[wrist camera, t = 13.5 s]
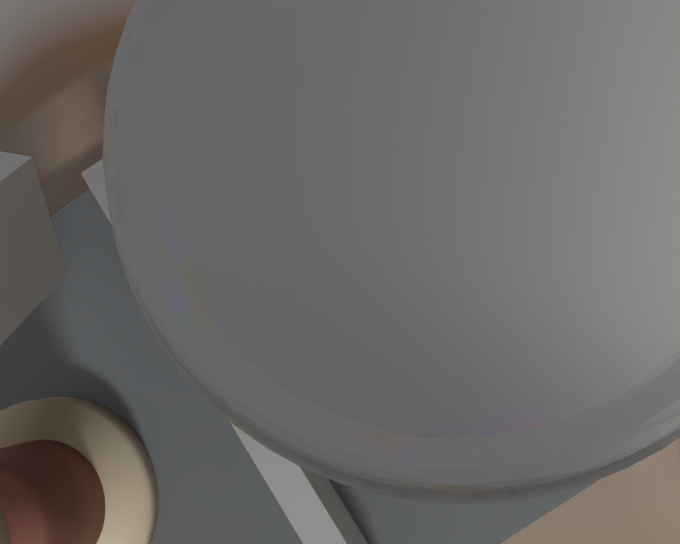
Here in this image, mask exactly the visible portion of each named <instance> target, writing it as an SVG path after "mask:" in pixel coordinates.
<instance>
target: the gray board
mask: <svg viewBox="0 0 680 544" xmlns="http://www.w3.org/2000/svg"><path fill="white" fill-rule="evenodd" d="M102 159H103V158H102ZM102 159H101V160H99V161H98V162H96V163H95V164H94V165H92V166H91V167H89V168H88V169H86V170H85V171H84V172H82V173H81V175H82V177H83V178H84V180H85V182H86V183H87V185H88V187H89V188H90V189H88V190H87V191H86V192H84V193H83V194H81V195H80V196H78V197H77V198H76V199H74V200H73V201H71V202H70V203H68V204H67V205H66V206H64V207H63V208H61V209H60V210H58V211H57V212H56V213H54V214H53V215H51V216H50V218H51V222H52V225H53V229H54V232H55V236H56V239H57V243H58V246H59V250H60V253H61V257H62V260H63V263H64V267H65V270H66V274H67V275H66V276H65V277H64V278H63V279H62V280H61V281H60V282H59V283H58V284H57V285H56V286H55V287H54V288H53V290H52V291H51V292H50V293H49V294H48V295H47V296H46V297H45V298H44V299H43V300H42V301H41V302H40V303H39V305H38V306H37V307H36V308H35V309H34V310H33V311H32V312H31V313H30V314H29V315H28V316H27V317H26V318H25V320H24V321H23V322H22V323H21V324H20V325H19V326H18V327H17V328H16V329H15V330H14V331H13V332H12V333H11V335H10V336H9V337H8V338H7V339H6V340H5V341H4V342H3V343H2V344H1V345H0V411H2V410H4V409H6V408H8V407H10V406H12V405H15V404H18V403H22V402H25V401H30V400H37V399H44V398H51V397H68V396H70V397H78V398H84V399H87V400H91V401H94V402H97V403H99V404H101V405H103V406H106V407H107V408H109V409H110V410H112V411H114V412H115V413H117V414H118V415H119V416H120V417H122V418H123V419H124V420H125V421H126V422H127V423H128V424H129V425H130V426H131V427H132V428H133V429H134V430H135V432H136V433H137V435H138V436H139V437H140V439H141V440H142V442H143V444H144V445H145V447H146V449H147V451H148V453H149V455H150V458H151V461H152V463H153V466H154V470H155V474H156V479H157V485H158V494H159V495H158V515H157V522H156V526H155V530H154V534H153V538H152V540H151V543H150V544H500V543H501V542H503V541H504V540H506V539H507V538H509V537H511V536H512V535H514V534H515V533H517V532H518V531H520V530H521V529H523V528H525V527H526V526H528V525H529V524H531V523H532V522H534V521H535V520H537V519H539V518H540V517H542V516H543V515H545V514H546V513H548V512H549V511H551V510H553V509H554V508H556V507H557V506H559V505H560V504H562V503H563V502H565V501H567V500H568V499H570V498H571V497H573V496H574V495H576V494H577V493H579V492H581V491H582V490H584V489H585V488H587V487H588V486H590V485H591V484H593V483H595V482H596V481H598V480H599V479H598V480H596V481H593V482H591V483H588V484H586V485H582V486H579V487H575V488H571V489H568V490H564V491H560V492H557V493H553V494H549V495H546V496H540V497H534V498H527V499H521V500H515V501H509V502H501V503H480V504H447V503H429V502H418V501H412V500H406V499H400V498H395V497H389V496H383V495H379V494H375V493H372V492H368V491H364V490H361V489H357V488H354V487H350V486H347V485H343V484H340V483H338V482H335V481H333V480H331V479H328V478H326V477H323V476H321V475H318V474H316V473H314V472H311V471H309V470H306V469H304V468H302V467H300V466H298V465H296V464H295V463H293V462H291V461H289V460H287V459H285V458H284V457H282V456H280V455H278V454H276V453H275V452H273V451H271V450H269V449H267V448H266V447H264V446H263V445H262V444H260V443H259V442H257V441H256V440H254V439H253V438H252V437H250V436H249V435H247V434H246V433H245V432H243V431H242V430H240V429H239V428H237V427H236V426H235V425H233V424H232V423H231V422H230V421H229V420H228V419H227V418H225V417H224V416H223V415H222V414H221V413H220V412H219V411H218V410H216V409H215V408H214V407H213V406H212V405H211V404H210V403H208V402H207V401H206V400H205V399H204V398H203V397H202V396H201V394H200V393H199V392H198V391H197V390H196V389H195V388H194V387H193V386H192V384H191V383H190V382H189V381H188V380H187V379H186V378H185V377H184V376H183V374H182V373H181V372H180V371H179V370H178V368H177V367H176V366H175V364H174V363H173V361H172V360H171V359H170V357H169V356H168V354H167V353H166V352H165V350H164V349H163V347H162V346H161V345H160V343H159V342H158V340H157V339H156V337H155V335H154V333H153V331H152V330H151V328H150V326H149V324H148V323H147V321H146V319H145V317H144V316H143V314H142V312H141V310H140V308H139V306H138V303H137V301H136V299H135V296H134V294H133V292H132V289H131V287H130V285H129V282H128V280H127V278H126V275H125V272H124V268H123V265H122V262H121V259H120V256H119V252H118V249H117V246H116V242H115V237H114V232H113V229H112V224H111V218H110V212H109V206H108V200H107V194H106V186H105V177H104V168H103V160H102Z"/></svg>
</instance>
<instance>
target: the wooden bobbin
mask: <svg viewBox="0 0 680 544" xmlns="http://www.w3.org/2000/svg"><path fill="white" fill-rule="evenodd" d="M158 495H159V494H158V485H157V479H156V474H155V470H154V466H153V463H152V461H151V458H150V455H149V453H148V451H147V449H146V447H145V445H144V444H143V442H142V440H141V439H140V437H139V436H138V435H137V433H136V432H135V430H134V429H133V428H132V427H131V426H130V425H129V424H128V423H127V422H126V421H125V420H124V419H123V418H122V417H120V416H119V415H118V414H117V413H115V412H114V411H112V410H110V409H109V408H107V407H106V406H103V405H101V404H99V403H97V402H94V401H91V400H87V399H84V398H78V397H70V396H68V397H51V398H44V399H37V400H30V401H25V402H22V403H18V404H15V405H12V406H10V407H8V408H6V409H4V410H2V411H0V544H150V543H151V540H152V538H153V534H154V530H155V526H156V522H157V515H158Z"/></svg>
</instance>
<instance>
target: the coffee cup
mask: <svg viewBox="0 0 680 544" xmlns="http://www.w3.org/2000/svg"><path fill="white" fill-rule="evenodd" d="M102 160H103V168H104V177H105V186H106V194H107V200H108V206H109V212H110V218H111V224H112V229H113V232H114V237H115V242H116V246H117V249H118V252H119V256H120V259H121V262H122V265H123V268H124V272H125V275H126V278H127V280H128V282H129V285H130V287H131V289H132V292H133V294H134V296H135V299H136V301H137V303H138V306H139V308H140V310H141V312H142V314H143V316H144V317H145V319H146V321H147V323H148V324H149V326H150V328H151V330H152V331H153V333H154V335H155V337H156V339H157V340H158V342H159V343H160V345H161V346H162V347H163V349H164V350H165V352H166V353H167V354H168V356H169V357H170V359H171V360H172V361H173V363H174V364H175V366H176V367H177V368H178V370H179V371H180V372H181V373H182V374H183V376H184V377H185V378H186V379H187V380H188V381H189V382H190V383H191V384H192V386H193V387H194V388H195V389H196V390H197V391H198V392H199V393H200V394H201V396H202V397H203V398H204V399H205V400H206V401H207V402H208V403H210V404H211V405H212V406H213V407H214V408H215V409H216V410H218V411H219V412H220V413H221V414H222V415H223V416H224V417H225V418H227V419H228V420H229V421H230V422H231V423H232V424H233V425H235V426H236V427H237V428H239V429H240V430H242V431H243V432H245V433H246V434H247V435H249V436H250V437H252V438H253V439H254V440H256V441H257V442H259V443H260V444H262V445H263V446H264V447H266V448H267V449H269V450H271V451H273V452H275V453H276V454H278V455H280V456H282V457H284V458H285V459H287V460H289V461H291V462H293V463H295V464H296V465H298V466H300V467H302V468H304V469H306V470H309V471H311V472H314V473H316V474H318V475H321V476H323V477H326V478H328V479H331V480H333V481H335V482H338V483H340V484H343V485H347V486H350V487H354V488H357V489H361V490H364V491H368V492H372V493H375V494H379V495H383V496H389V497H395V498H400V499H406V500H412V501H418V502H429V503H447V504H480V503H501V502H509V501H515V500H521V499H527V498H534V497H540V496H546V495H549V494H553V493H557V492H560V491H564V490H568V489H571V488H575V487H579V486H582V485H586V484H588V483H591V482H593V481H596V480H598V479H601V478H603V477H606V476H608V475H611V474H613V473H616V472H618V471H621V470H623V469H626V468H628V467H629V466H631V465H633V464H635V463H637V462H639V461H641V460H643V459H645V458H646V457H648V456H650V455H652V454H654V453H656V452H658V451H660V450H661V449H663V448H665V447H666V446H668V445H669V444H670V443H672V442H673V441H675V440H676V439H678V438H679V437H680V0H136V1H135V3H134V5H133V8H132V10H131V12H130V14H129V16H128V19H127V21H126V25H125V27H124V30H123V33H122V36H121V39H120V42H119V45H118V47H117V50H116V53H115V58H114V62H113V66H112V71H111V75H110V79H109V84H108V88H107V96H106V105H105V114H104V125H103V159H102Z"/></svg>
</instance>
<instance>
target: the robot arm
mask: <svg viewBox="0 0 680 544" xmlns="http://www.w3.org/2000/svg"><path fill="white" fill-rule="evenodd" d="M66 275H67V274H66V270H65V267H64V263H63V260H62V257H61V253H60V250H59V246H58V243H57V239H56V236H55V232H54V229H53V225H52V222H51V218H50V215H49V212H48V208H47V205H46V201H45V198H44V194H43V191H42V187H41V184H40V180H39V177H38V173H37V170H36V167H35V163H34V160H33V157H31V156H25V155H19V154H13V153H8V152H2V151H0V345H1V344H2V343H3V342H4V341H5V340H6V339H7V338H8V337H9V336H10V335H11V333H12V332H13V331H14V330H15V329H16V328H17V327H18V326H19V325H20V324H21V323H22V322H23V321H24V320H25V318H26V317H27V316H28V315H29V314H30V313H31V312H32V311H33V310H34V309H35V308H36V307H37V306H38V305H39V303H40V302H41V301H42V300H43V299H44V298H45V297H46V296H47V295H48V294H49V293H50V292H51V291H52V290H53V288H54V287H55V286H56V285H57V284H58V283H59V282H60V281H61V280H62V279H63V278H64V277H65V276H66Z"/></svg>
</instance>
